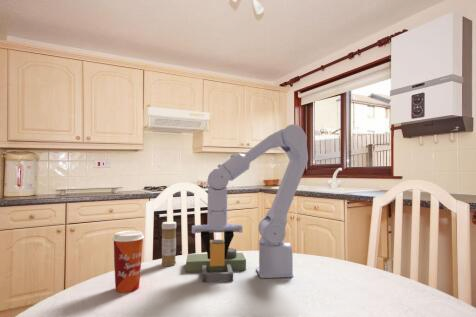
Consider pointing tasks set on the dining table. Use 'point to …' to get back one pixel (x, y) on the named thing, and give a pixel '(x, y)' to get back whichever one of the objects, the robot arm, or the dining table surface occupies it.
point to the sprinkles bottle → (168, 243)
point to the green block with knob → (203, 264)
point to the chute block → (217, 252)
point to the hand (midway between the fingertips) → (216, 257)
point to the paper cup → (127, 260)
